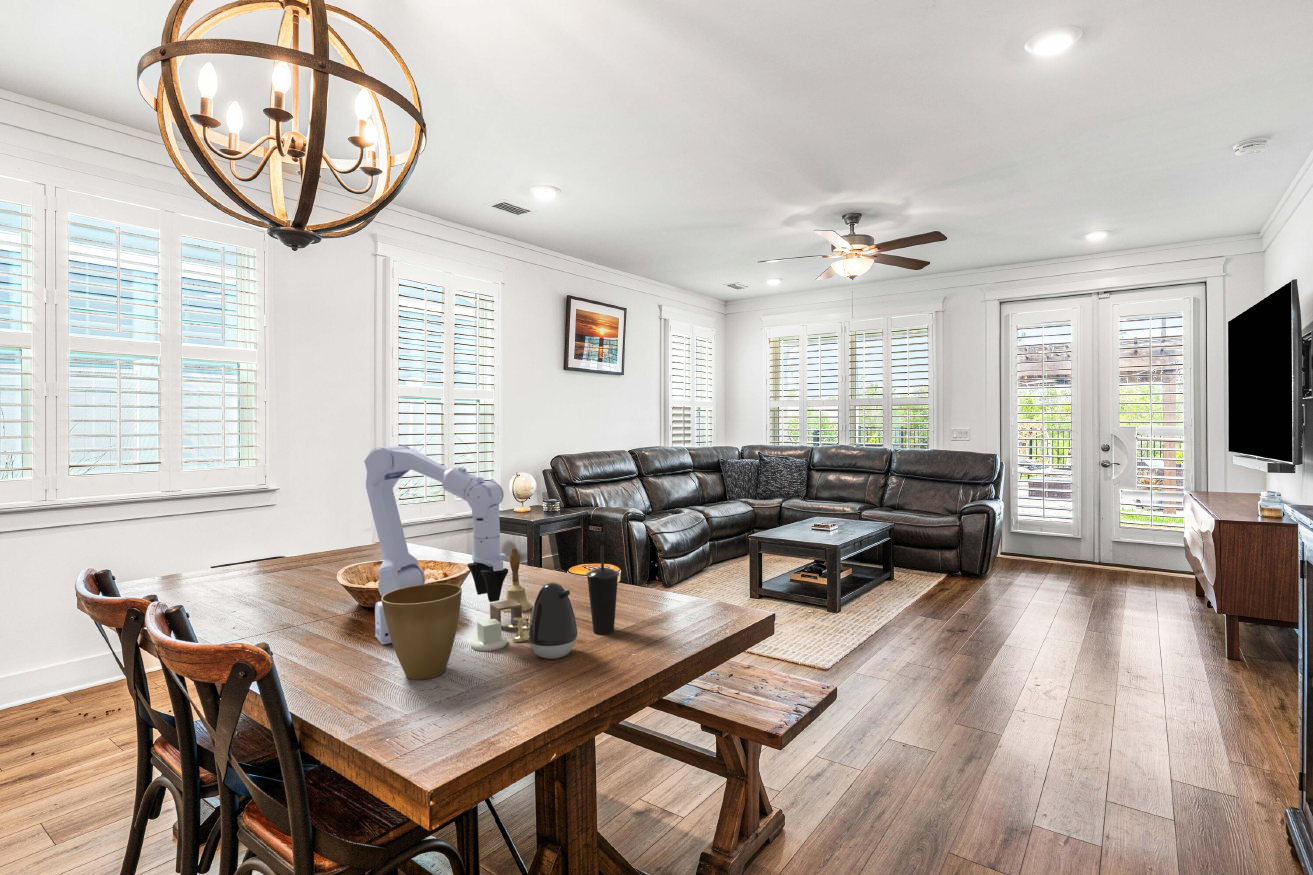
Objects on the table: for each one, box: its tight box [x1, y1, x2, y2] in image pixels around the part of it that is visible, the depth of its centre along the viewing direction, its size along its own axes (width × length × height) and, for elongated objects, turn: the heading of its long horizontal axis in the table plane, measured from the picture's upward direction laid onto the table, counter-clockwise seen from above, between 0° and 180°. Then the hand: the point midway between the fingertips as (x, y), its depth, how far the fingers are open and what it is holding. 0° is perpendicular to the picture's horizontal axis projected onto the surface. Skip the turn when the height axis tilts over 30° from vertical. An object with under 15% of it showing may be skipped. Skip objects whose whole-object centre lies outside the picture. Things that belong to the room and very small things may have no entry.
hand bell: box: [501, 547, 533, 614], centre depth 173 cm, size 8×8×16 cm
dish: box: [470, 635, 508, 652], centre depth 144 cm, size 8×8×1 cm
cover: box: [489, 599, 523, 624], centre depth 159 cm, size 6×6×5 cm
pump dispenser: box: [527, 582, 578, 660], centre depth 137 cm, size 10×10×15 cm
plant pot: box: [380, 583, 463, 681], centre depth 128 cm, size 15×15×16 cm
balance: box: [507, 617, 530, 644], centre depth 147 cm, size 4×11×6 cm, turn 34°
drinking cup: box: [585, 545, 620, 636], centre depth 152 cm, size 8×8×20 cm
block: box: [476, 618, 503, 645], centre depth 144 cm, size 4×4×4 cm
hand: (488, 597), depth 145 cm, fingers open, 7 cm apart
